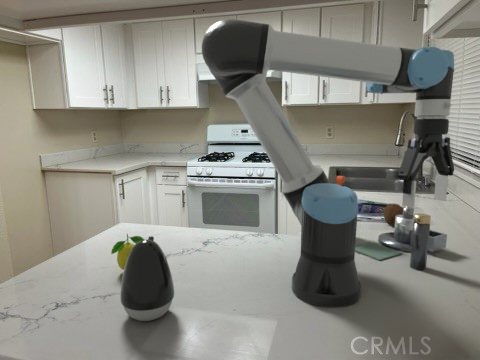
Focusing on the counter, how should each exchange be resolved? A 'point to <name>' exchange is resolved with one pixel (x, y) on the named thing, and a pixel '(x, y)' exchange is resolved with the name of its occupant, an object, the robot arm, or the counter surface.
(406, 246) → the base
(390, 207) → the potato
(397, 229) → the grey cylinder with box
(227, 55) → the robot arm
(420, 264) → the gold capped bottle
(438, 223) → the counter surface
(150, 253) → the black egg-shaped pod
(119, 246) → the lemon
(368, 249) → the mat
